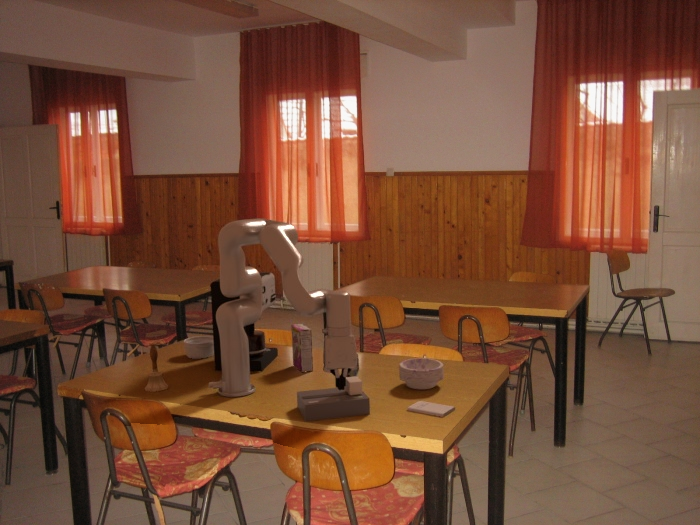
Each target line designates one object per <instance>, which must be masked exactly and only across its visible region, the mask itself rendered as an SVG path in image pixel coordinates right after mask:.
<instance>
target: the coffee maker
mask: <svg viewBox="0 0 700 525" xmlns="http://www.w3.org/2000/svg"><path fill="white" fill-rule="evenodd" d="M259 274H260V276H261V278H262V312H264V311H265V310H267V309H268V308H269V307H271V306H273V305H274V304H275V303H276V296H277V295H276V280H275V277H276V276H275V275H274V274H273V273H272V272H259ZM209 287H210V298H211V299H210V300H211V317H212V318H211V320H212V337H213V341H214V354H213V358H214V371H215V372H222V364H221V347H220V334H219V329H218V325H217V321H216V312H217V310H218V308H219V307H220V306H221V305H222V304H224V303H226V302H229V301H233V300H237V299H240V296H238V297H231V298H230V297H226V296H224V295H223V294H222V292H221V289H220V278H218V279H215V281H212V282H211V283H210V284H209ZM260 320H261V318H260V319H259V320H258V321H260ZM243 328H244V331H245V333H246V335H247V337H248V343H249V363H250V371H253V373H254V371H262V372H263V371H264V370H265V369H266V368H267V367H268V366H269V365H270V364H271V363H273V361H274V360H275V359H276V358H277V357H278V356H279V352H278V351H279V350H278V349H279V348H277V347H266V343H267V342H266V335H265V331H263V330H257V329H256V327H255V323H253V324H250V325H247V326H244V327H243ZM255 329H256V330H255Z"/></svg>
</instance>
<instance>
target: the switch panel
mask: <svg viewBox="0 0 700 525" xmlns="http://www.w3.org/2000/svg"><path fill="white" fill-rule="evenodd" d="M344 388H345V386H344ZM296 404H297V405H296V406H297V409H298V412H300V414H301V416H302V418H303V419H304V421H305V422H313V421H321V420H331V419H332V420H333V419H339V418H347V417H356V416H365V415H371V410H370V408H371V407H370V406H371V404H370V397H369V396H368V395H367V394H366V393H365V391H363V390H362V394H357V395H349V394H348V392H347V391H346V390H339V389H338V388H337V387H331V388H330V387H329V388H321V389H311V390H302V391H296Z"/></svg>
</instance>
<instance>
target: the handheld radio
mask: <svg viewBox="0 0 700 525" xmlns="http://www.w3.org/2000/svg"><path fill="white" fill-rule="evenodd" d="M359 361H360V360H359V354H358V353H357V369H355V370H352V371H350V372H349V374H348V375H347V377H354V376H357V377H358V373H359V371H360V363H359Z"/></svg>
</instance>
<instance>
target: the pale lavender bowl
mask: <svg viewBox="0 0 700 525" xmlns="http://www.w3.org/2000/svg"><path fill="white" fill-rule="evenodd" d="M398 365H399V366H398V371H399V376H398V377H399V379H400V380H401V381H402V382H404V383H405V385H406V386H407V388H410V389H413V390H420V391H422V390H423V391H424V390H430V389H432V388H435V387H436V386H437V385H438V383H439V382H440V381H442V380H443V379H444V363H443V362H442V361H440V360H437V359H434V358H426V357H425V358H423V357H421V358H419V357H418V358H409V359H406V360H403V361H401V362H399V364H398Z"/></svg>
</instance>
